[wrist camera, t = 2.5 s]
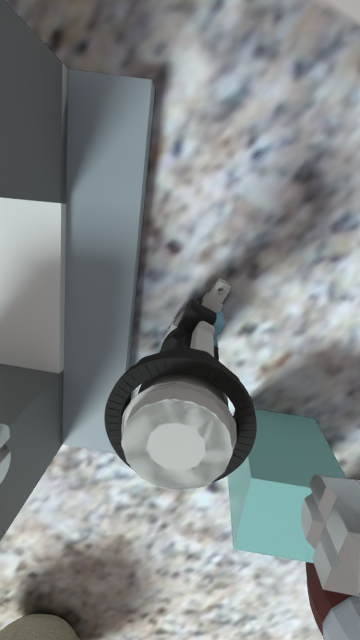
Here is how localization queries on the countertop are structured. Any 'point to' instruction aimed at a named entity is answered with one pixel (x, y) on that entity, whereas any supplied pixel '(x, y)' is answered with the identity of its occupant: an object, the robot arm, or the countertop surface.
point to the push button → (183, 405)
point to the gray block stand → (64, 249)
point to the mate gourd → (333, 609)
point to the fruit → (38, 628)
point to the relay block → (278, 485)
